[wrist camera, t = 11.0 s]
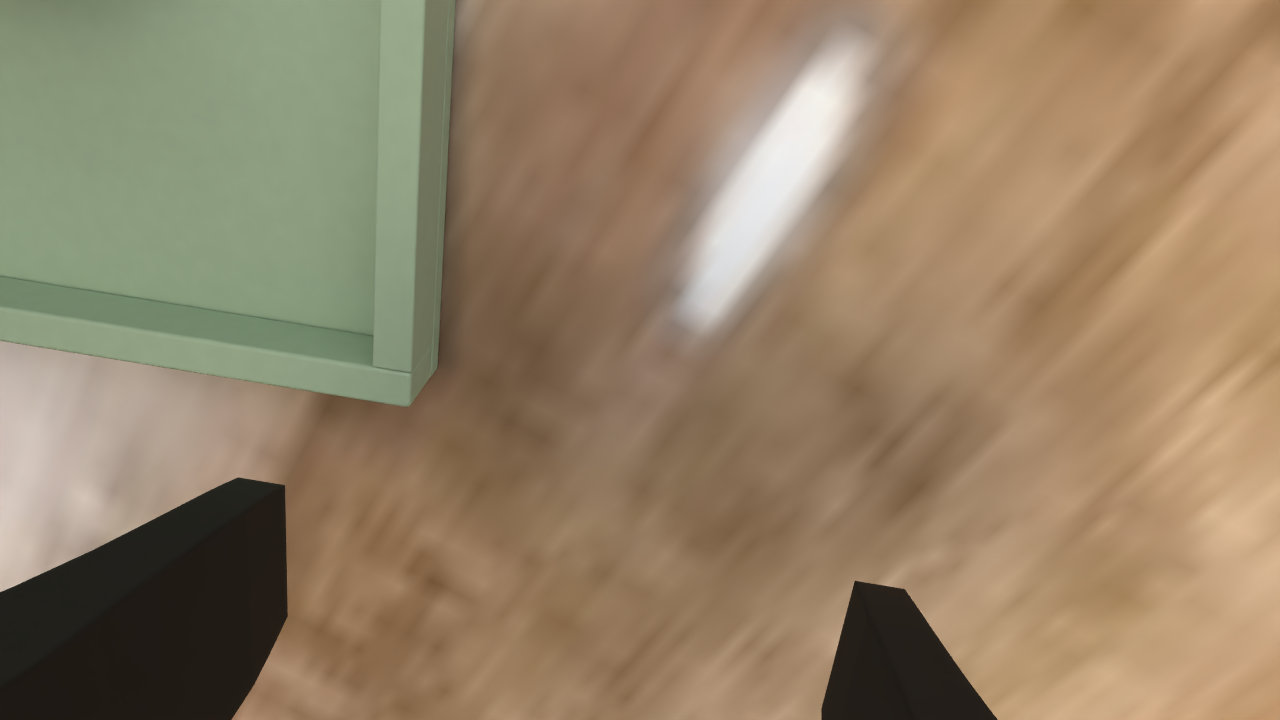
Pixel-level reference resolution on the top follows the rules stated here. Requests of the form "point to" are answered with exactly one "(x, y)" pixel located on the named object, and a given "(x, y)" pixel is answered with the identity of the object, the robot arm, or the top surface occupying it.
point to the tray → (229, 186)
